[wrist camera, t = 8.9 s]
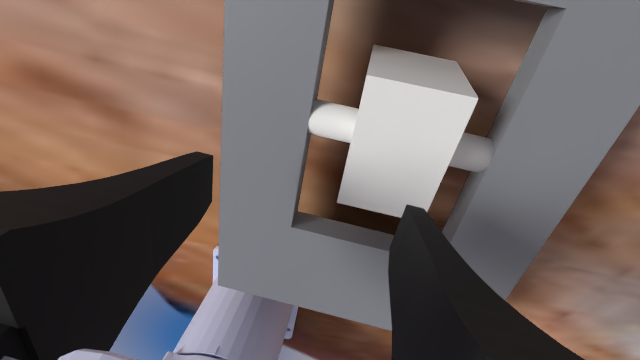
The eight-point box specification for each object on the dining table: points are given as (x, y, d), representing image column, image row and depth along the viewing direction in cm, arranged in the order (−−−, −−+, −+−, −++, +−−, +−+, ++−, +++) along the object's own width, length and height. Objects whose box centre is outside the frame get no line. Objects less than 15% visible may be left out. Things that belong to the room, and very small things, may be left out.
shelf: (450, 273, 26) (469, 351, 20) (252, 224, 26) (217, 285, 21) (670, -141, 13) (875, -237, 8) (291, -206, 14) (233, -335, 9)
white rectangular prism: (416, 166, 19) (422, 222, 15) (348, 150, 19) (336, 202, 15) (456, 61, 16) (478, 98, 12) (373, 44, 16) (366, 74, 12)
